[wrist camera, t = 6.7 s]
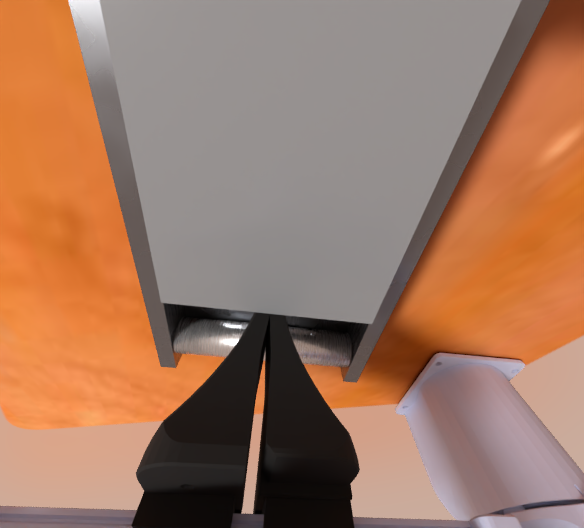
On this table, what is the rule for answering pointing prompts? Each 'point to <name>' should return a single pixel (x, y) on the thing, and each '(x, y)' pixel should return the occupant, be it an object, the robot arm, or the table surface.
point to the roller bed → (232, 323)
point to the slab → (293, 139)
